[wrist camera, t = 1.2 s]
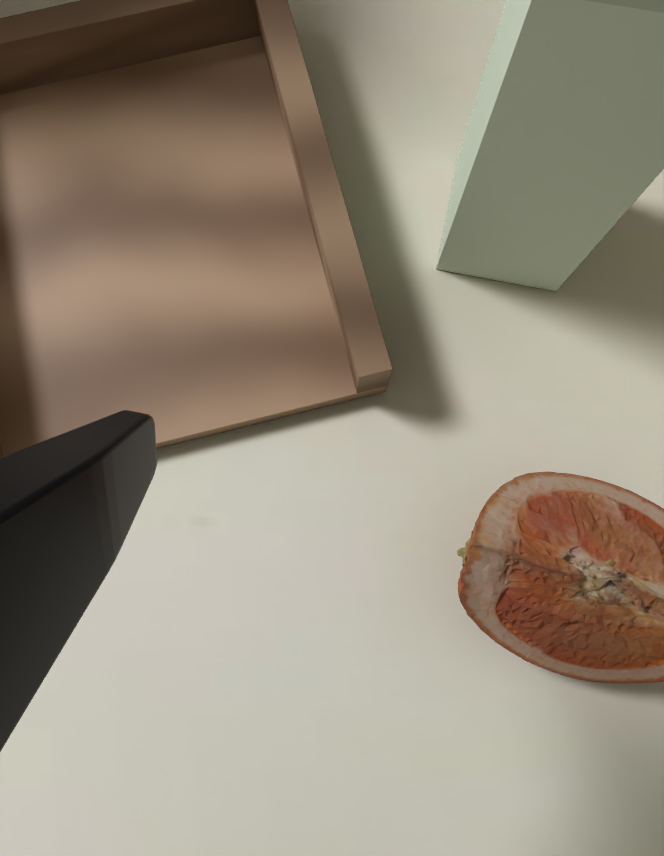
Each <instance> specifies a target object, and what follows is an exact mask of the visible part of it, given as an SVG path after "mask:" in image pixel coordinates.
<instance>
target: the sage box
mask: <svg viewBox="0 0 664 856" xmlns="http://www.w3.org/2000/svg"><path fill="white" fill-rule="evenodd" d="M663 169H664V0H506V2H505V6H504V9H503V12H502V15H501V19H500V22H499V25H498V28H497V32H496V35H495V38H494V41H493V45H492V48H491V51H490V54H489V58H488V61H487V64H486V67H485V71H484V74H483V77H482V80H481V84H480V87H479V90H478V93H477V97H476V100H475V103H474V106H473V110H472V113H471V116H470V119H469V123H468V126H467V129H466V132H465V136H464V139H463V142H462V145H461V149H460V152H459V155H458V158H457V162H456V165H455V171H454V176H453V181H452V187H451V192H450V197H449V203H448V208H447V213H446V219H445V224H444V229H443V235H442V240H441V245H440V251H439V256H438V261H437V267H436V269H438V270H443V271H449V272H454V273H460V274H465V275H470V276H476V277H481V278H487V279H492V280H498V281H503V282H508V283H514V284H519V285H525V286H530V287H536V288H541V289H546V290H552V291H557V290H558V289H559V287H560V286H561V285H562V284H563V283H564V282H565V281H566V279H567V278H568V277H569V276H570V275H571V274H572V273H573V271H574V270H575V269H576V268H577V267H578V266H579V265H580V263H581V262H582V261H583V260H584V259H585V258H586V257H587V255H588V254H589V253H590V252H591V251H592V250H593V249H594V247H595V246H596V245H597V244H598V243H599V242H600V241H601V240H602V238H603V237H604V236H605V235H606V234H607V233H608V232H609V230H610V229H611V228H612V227H613V226H614V225H615V224H616V222H617V221H618V220H619V219H620V218H621V217H622V216H623V214H624V213H625V212H626V211H627V210H628V209H629V208H630V206H631V205H632V204H633V203H634V202H635V201H636V200H637V198H638V197H639V196H640V195H641V194H642V193H643V192H644V190H645V189H646V188H647V187H648V186H649V185H650V184H651V182H652V181H653V180H654V179H655V178H656V177H657V176H658V175H659V173H660V172H661V171H662V170H663Z"/></svg>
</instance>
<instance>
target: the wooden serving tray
mask: <svg viewBox="0 0 664 856" xmlns="http://www.w3.org/2000/svg"><path fill="white" fill-rule="evenodd" d="M391 371H392V366H391V363H390V359H389V356H388V352H387V349H386V345H385V342H384V338H383V335H382V331H381V328H380V324H379V321H378V317H377V314H376V310H375V307H374V303H373V300H372V296H371V293H370V289H369V286H368V282H367V279H366V275H365V272H364V268H363V265H362V261H361V258H360V254H359V251H358V247H357V244H356V240H355V237H354V233H353V230H352V226H351V223H350V219H349V216H348V212H347V209H346V205H345V202H344V198H343V195H342V191H341V188H340V184H339V181H338V177H337V174H336V170H335V167H334V163H333V160H332V156H331V153H330V149H329V146H328V142H327V139H326V135H325V132H324V128H323V125H322V121H321V118H320V114H319V111H318V107H317V104H316V100H315V97H314V93H313V90H312V86H311V82H310V79H309V75H308V72H307V68H306V65H305V61H304V58H303V54H302V51H301V47H300V44H299V40H298V37H297V33H296V30H295V26H294V23H293V19H292V16H291V12H290V9H289V5H288V2H287V0H81V1H76V2H72V3H67V4H63V5H58V6H54V7H49V8H45V9H40V10H36V11H31V12H27V13H22V14H18V15H13V16H9V17H4V18H0V458H1V457H4V456H6V455H9V454H12V453H14V452H17V451H19V450H22V449H24V448H27V447H30V446H32V445H35V444H37V443H40V442H43V441H45V440H48V439H50V438H53V437H55V436H58V435H61V434H63V433H66V432H68V431H71V430H73V429H76V428H79V427H81V426H84V425H86V424H89V423H91V422H94V421H97V420H99V419H102V418H104V417H107V416H109V415H112V414H115V413H117V412H120V411H123V410H130V411H135V412H140V413H145V414H149V415H150V416H151V417H152V418H153V419H154V423H155V434H156V448H160V447H164V446H168V445H172V444H176V443H180V442H184V441H188V440H192V439H196V438H200V437H204V436H208V435H212V434H216V433H220V432H224V431H228V430H232V429H236V428H240V427H244V426H248V425H252V424H256V423H260V422H264V421H268V420H272V419H276V418H280V417H284V416H288V415H292V414H296V413H300V412H304V411H308V410H312V409H316V408H320V407H324V406H328V405H332V404H336V403H340V402H344V401H348V400H352V399H356V398H360V397H364V396H368V395H372V394H376V393H380V392H384V391H386V388H387V384H388V381H389V378H390V375H391Z"/></svg>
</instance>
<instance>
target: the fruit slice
mask: <svg viewBox="0 0 664 856" xmlns="http://www.w3.org/2000/svg"><path fill="white" fill-rule="evenodd" d="M457 553H458V556H461V557H463V561H462V562H463V564H462V565H463V569H462V570H461V572H460V578H459V581H458V593H459V598H460V601H461V603H462V605H463V607H464V609H465V610H466V612H467V615H468V616H469V617H470V618H471V619H472V620H473V621H474V622H475V623H476V624H477V625H478V627H479V628H480V629H481V630H482V631H483V632H485V633H486V634H487V635H488V636H489V637H490V638H492V639H493V640H494V641H495V642H497V643H498V644H500V645H501V646H503V647H504V648H506V649H507V650H509V651H510V652H512V653H514V654H516V655H517V656H519V657H521V658H522V659H524V660H526V661H528V662H530V663H532V664H535V665H537V666H539V667H542V668H545V669H547V670H550V671H552V672H555V673H558V674H561V675H564V676H568V677H572V678H576V679H580V680H586V681H594V682H606V683H643V682H661V681H664V509H663V508H661V507H660V506H658V505H656V504H655V503H653V502H651V501H649V500H647V499H645V498H643V497H641V496H639V495H638V494H636V493H633V492H631V491H629V490H627V489H624V488H621V487H619V486H616V485H613V484H610V483H607V482H604V481H600V480H597V479H593V478H589V477H584V476H579V475H574V474H566V473H555V472H537V473H529V474H524V475H522V476H518V477H515V478H514V479H513V480H511V481H509V482H507V483H505V484H504V485H502V486H501V487H500V488H499V489H498V490H497V491H496V492H495V493H494V494H493V495H492V496H491V497H490V498H489V500H488V501H487V502H486V504H485V505H484V507H483V509H482V510H481V512H480V515H479V518H478V519H477V521H476V523H475V527H474V530H473V531H472V535H471V538H470V539H469V540H468V541H467V542H466V548H461V549H460V550H458V551H457Z"/></svg>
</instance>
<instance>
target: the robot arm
mask: <svg viewBox="0 0 664 856" xmlns="http://www.w3.org/2000/svg"><path fill="white" fill-rule="evenodd" d="M156 465H157V451H156V434H155V423H154V419H153V418H152V417H151V416H150V415H149V414H145V413H140V412H135V411H130V410H123V411H120V412H117V413H115V414H112V415H109V416H107V417H104V418H102V419H99V420H97V421H94V422H91V423H89V424H86V425H84V426H81V427H79V428H76V429H73V430H71V431H68V432H66V433H63V434H61V435H58V436H55V437H53V438H50V439H48V440H45V441H43V442H40V443H37V444H35V445H32V446H30V447H27V448H24V449H22V450H19V451H17V452H14V453H12V454H9V455H6V456H4V457H1V458H0V751H1V750H2V748H3V746H4V745H5V743H6V742H7V740H8V738H9V737H10V735H11V733H12V732H13V730H14V728H15V727H16V725H17V723H18V722H19V720H20V718H21V717H22V715H23V713H24V712H25V710H26V708H27V707H28V705H29V703H30V702H31V700H32V698H33V697H34V695H35V693H36V692H37V690H38V688H39V687H40V685H41V683H42V682H43V680H44V678H45V677H46V675H47V673H48V672H49V670H50V668H51V667H52V665H53V663H54V662H55V660H56V658H57V657H58V655H59V653H60V652H61V650H62V648H63V647H64V645H65V643H66V642H67V640H68V638H69V637H70V635H71V633H72V632H73V630H74V628H75V627H76V625H77V623H78V622H79V620H80V618H81V617H82V615H83V613H84V612H85V610H86V609H87V607H88V605H89V604H90V602H91V600H92V599H93V597H94V595H95V594H96V592H97V590H98V589H99V587H100V585H101V584H102V582H103V580H104V579H105V577H106V575H107V574H108V572H109V570H110V568H111V566H112V565H113V563H114V561H115V559H116V557H117V555H118V553H119V551H120V549H121V547H122V545H123V543H124V540H125V538H126V536H127V534H128V532H129V529H130V527H131V525H132V523H133V520H134V518H135V516H136V514H137V512H138V509H139V507H140V505H141V503H142V501H143V498H144V496H145V494H146V492H147V489H148V487H149V485H150V483H151V481H152V478H153V476H154V473H155V470H156Z"/></svg>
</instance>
